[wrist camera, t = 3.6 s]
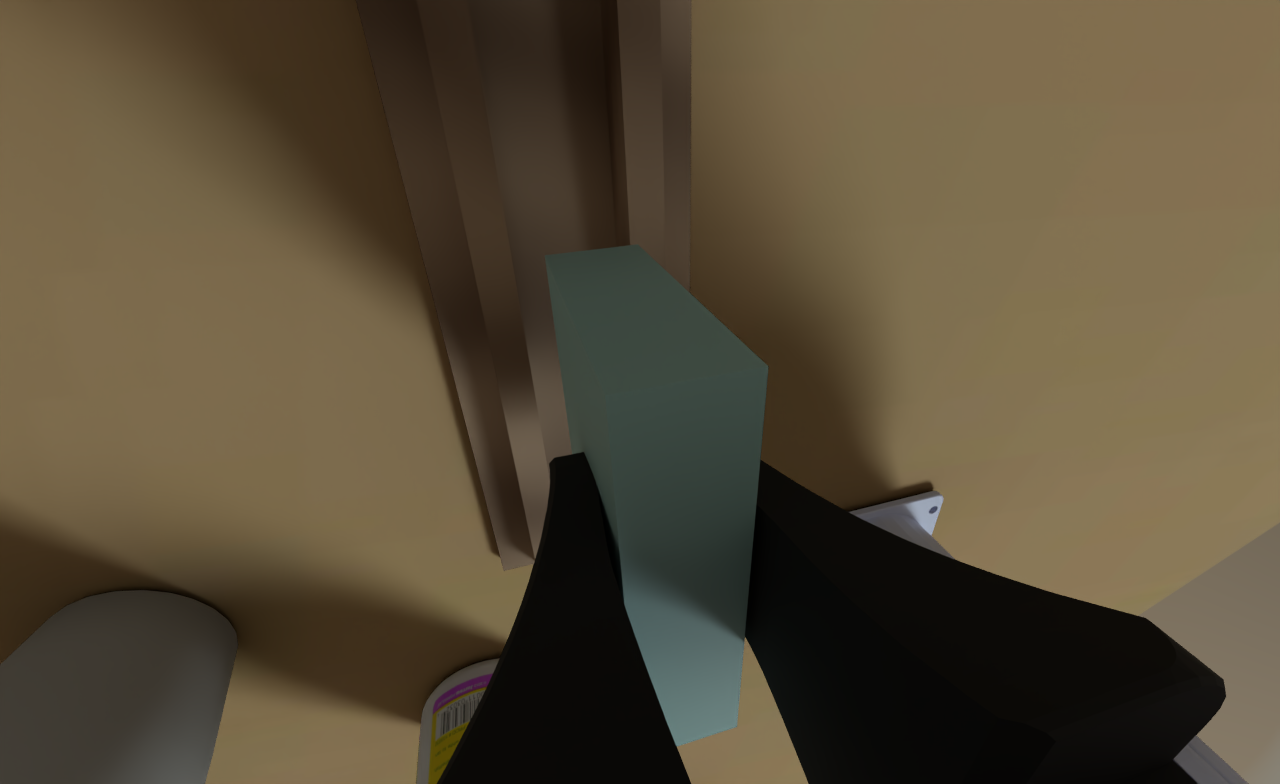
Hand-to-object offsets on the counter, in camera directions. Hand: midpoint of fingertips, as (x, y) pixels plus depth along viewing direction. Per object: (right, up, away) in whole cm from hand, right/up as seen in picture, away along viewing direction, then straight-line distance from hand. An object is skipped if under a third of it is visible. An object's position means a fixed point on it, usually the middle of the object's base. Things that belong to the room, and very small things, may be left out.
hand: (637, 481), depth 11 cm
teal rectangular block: (-1, +1, +2) cm, 3 cm away
